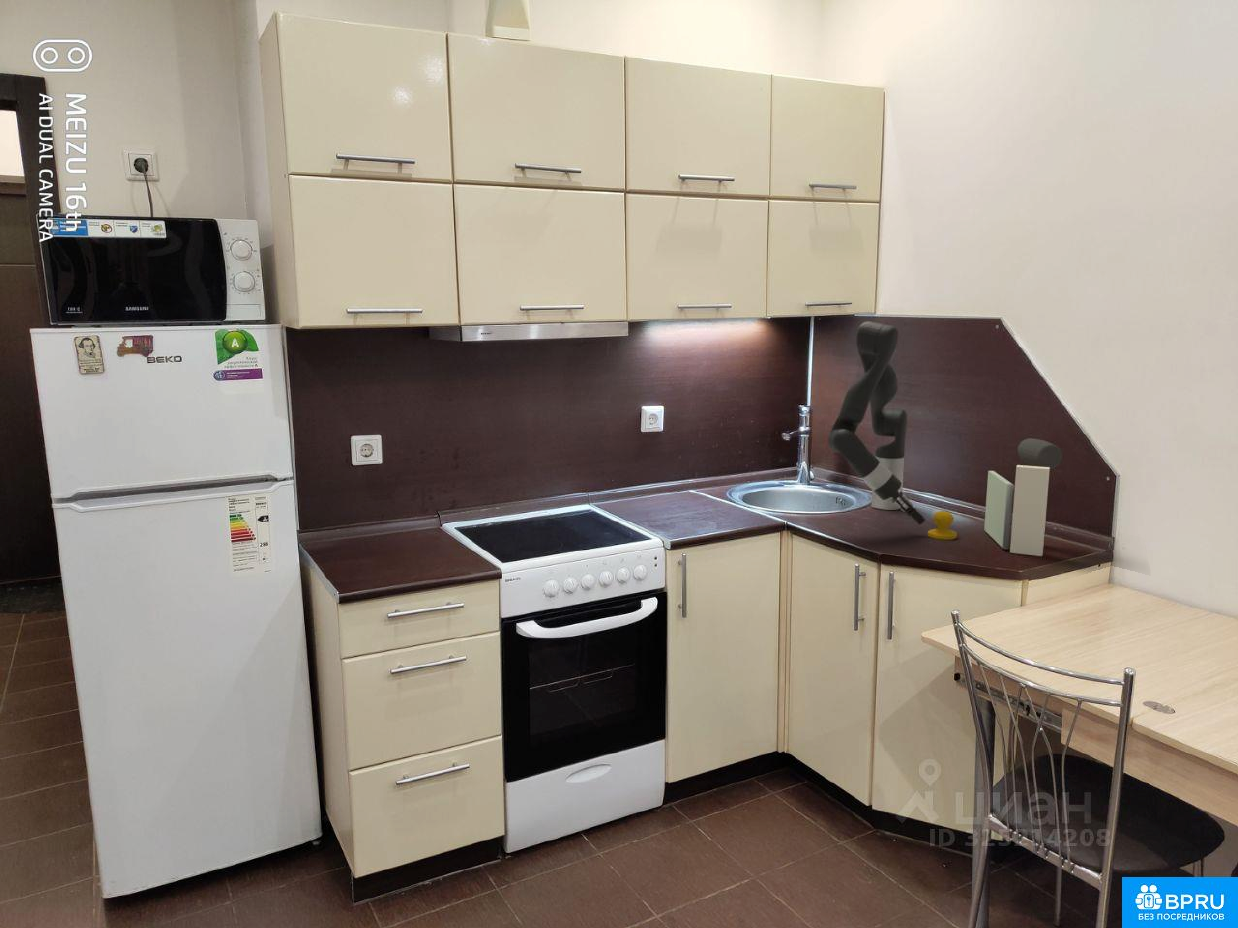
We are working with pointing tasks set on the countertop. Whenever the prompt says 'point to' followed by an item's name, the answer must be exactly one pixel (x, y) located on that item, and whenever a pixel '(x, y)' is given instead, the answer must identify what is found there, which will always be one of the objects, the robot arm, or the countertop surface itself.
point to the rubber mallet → (1039, 453)
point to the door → (999, 509)
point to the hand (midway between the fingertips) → (922, 521)
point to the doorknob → (942, 526)
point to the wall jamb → (1029, 510)
